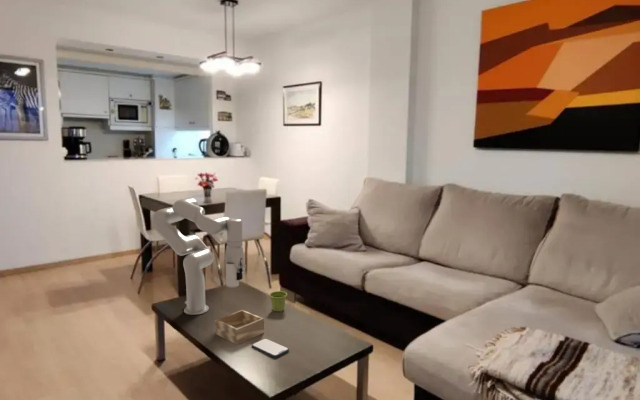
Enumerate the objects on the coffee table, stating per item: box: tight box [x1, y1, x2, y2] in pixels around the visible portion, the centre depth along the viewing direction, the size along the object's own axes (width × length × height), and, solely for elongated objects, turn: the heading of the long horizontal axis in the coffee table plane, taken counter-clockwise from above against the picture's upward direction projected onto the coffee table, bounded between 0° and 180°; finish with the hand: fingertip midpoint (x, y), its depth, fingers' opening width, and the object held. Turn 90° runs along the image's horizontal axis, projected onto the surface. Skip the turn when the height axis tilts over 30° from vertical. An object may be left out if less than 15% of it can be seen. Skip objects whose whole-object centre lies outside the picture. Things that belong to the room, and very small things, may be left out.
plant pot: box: [269, 290, 288, 312], centre depth 226 cm, size 9×9×9 cm
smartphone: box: [251, 338, 290, 359], centre depth 184 cm, size 9×2×16 cm
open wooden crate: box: [214, 309, 265, 345], centre depth 198 cm, size 16×16×7 cm
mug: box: [225, 262, 246, 288], centre depth 213 cm, size 10×7×12 cm, turn 123°
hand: (235, 277), depth 213 cm, fingers closed on mug, 6 cm apart
